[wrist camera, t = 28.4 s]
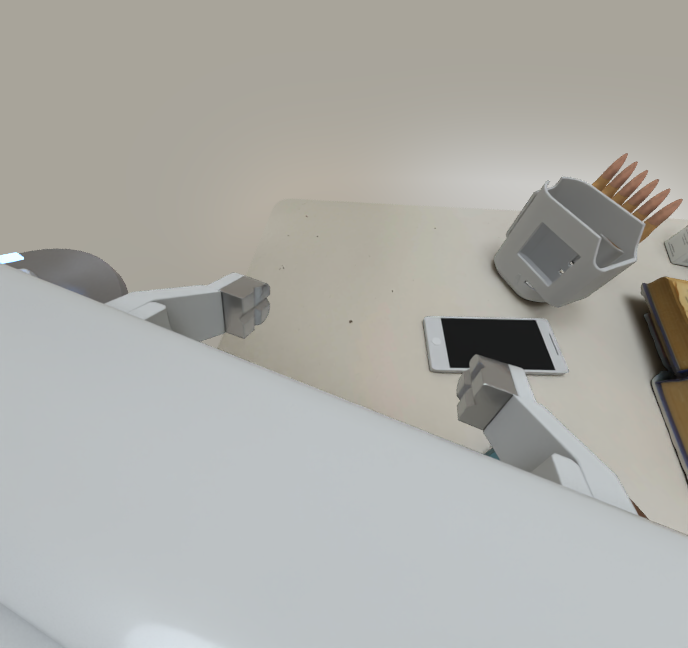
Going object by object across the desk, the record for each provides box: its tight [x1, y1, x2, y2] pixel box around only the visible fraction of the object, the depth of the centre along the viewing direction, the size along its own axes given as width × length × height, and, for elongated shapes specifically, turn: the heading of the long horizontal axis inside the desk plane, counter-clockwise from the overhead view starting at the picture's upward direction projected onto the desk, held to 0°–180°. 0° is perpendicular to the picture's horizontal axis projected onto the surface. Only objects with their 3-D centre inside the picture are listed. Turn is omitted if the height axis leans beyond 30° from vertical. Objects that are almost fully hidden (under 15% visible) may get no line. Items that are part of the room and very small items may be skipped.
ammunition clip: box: [572, 153, 682, 264], centre depth 35 cm, size 11×2×12 cm, turn 6°
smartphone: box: [423, 316, 569, 375], centre depth 31 cm, size 7×15×1 cm, turn 88°
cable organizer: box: [494, 177, 645, 307], centre depth 32 cm, size 7×12×12 cm, turn 20°
